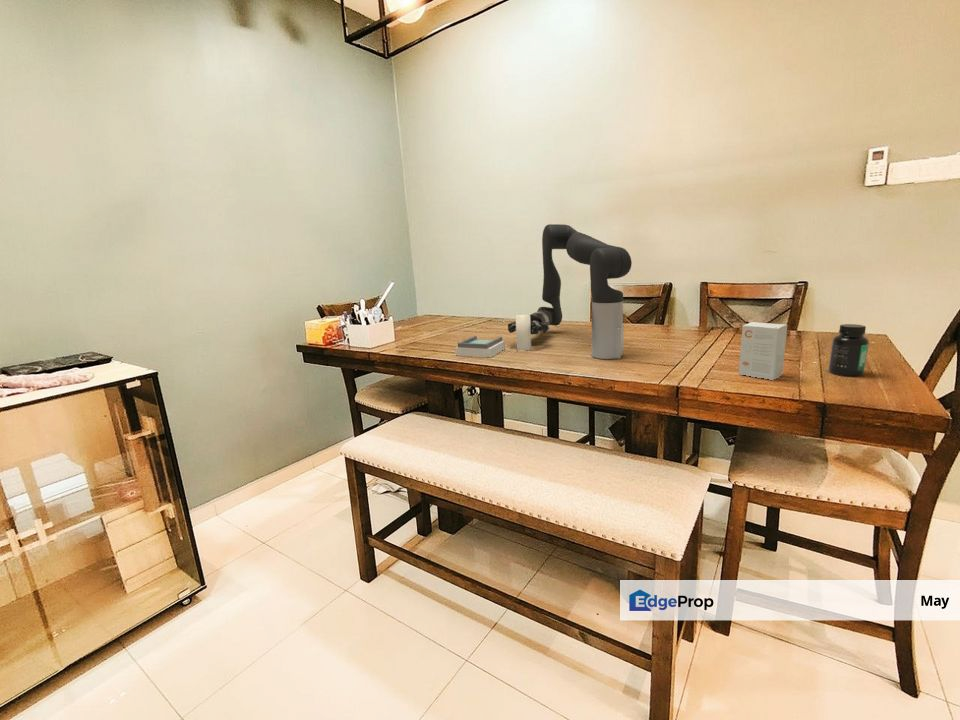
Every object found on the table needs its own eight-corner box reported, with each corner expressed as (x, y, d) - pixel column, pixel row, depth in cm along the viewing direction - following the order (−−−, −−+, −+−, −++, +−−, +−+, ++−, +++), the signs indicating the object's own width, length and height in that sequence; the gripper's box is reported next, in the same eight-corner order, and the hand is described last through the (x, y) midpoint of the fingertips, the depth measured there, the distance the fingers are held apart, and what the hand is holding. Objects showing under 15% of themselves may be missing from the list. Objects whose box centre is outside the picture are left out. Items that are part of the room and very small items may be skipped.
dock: (505, 349, 156) (504, 337, 155) (490, 357, 145) (489, 344, 144) (472, 347, 162) (471, 335, 161) (455, 355, 150) (454, 343, 149)
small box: (782, 375, 110) (788, 324, 107) (773, 381, 107) (779, 328, 103) (747, 370, 117) (752, 321, 113) (737, 375, 113) (742, 325, 110)
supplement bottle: (869, 377, 105) (878, 328, 103) (836, 376, 107) (843, 328, 104) (854, 369, 112) (862, 323, 109) (823, 369, 114) (829, 323, 111)
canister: (533, 347, 156) (532, 314, 153) (528, 351, 151) (527, 316, 149) (519, 347, 158) (518, 314, 155) (514, 350, 154) (513, 316, 151)
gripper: (518, 312, 168) (502, 319, 154) (554, 312, 162) (541, 319, 148) (519, 331, 170) (503, 340, 156) (555, 333, 164) (541, 341, 149)
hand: (521, 330), depth 152 cm, fingers open, 8 cm apart
